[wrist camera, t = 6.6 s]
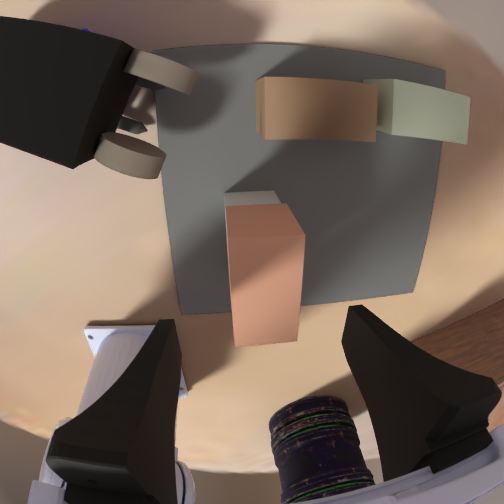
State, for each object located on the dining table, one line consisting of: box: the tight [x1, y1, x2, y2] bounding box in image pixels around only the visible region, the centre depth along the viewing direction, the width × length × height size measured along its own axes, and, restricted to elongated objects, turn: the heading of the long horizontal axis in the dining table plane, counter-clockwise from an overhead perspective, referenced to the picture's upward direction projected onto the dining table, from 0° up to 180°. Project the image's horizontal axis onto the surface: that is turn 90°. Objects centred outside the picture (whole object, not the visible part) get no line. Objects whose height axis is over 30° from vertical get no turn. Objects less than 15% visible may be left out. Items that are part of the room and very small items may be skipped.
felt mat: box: [154, 44, 445, 315], centre depth 21 cm, size 19×20×1 cm
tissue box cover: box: [411, 299, 504, 433], centre depth 31 cm, size 26×14×10 cm, turn 13°
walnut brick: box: [255, 77, 378, 142], centre depth 16 cm, size 6×3×4 cm, turn 91°
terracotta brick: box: [225, 203, 305, 347], centre depth 16 cm, size 6×3×4 cm, turn 1°
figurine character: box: [0, 16, 200, 179], centre depth 13 cm, size 7×8×15 cm
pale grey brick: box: [224, 190, 281, 282], centre depth 20 cm, size 6×3×4 cm, turn 1°
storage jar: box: [269, 396, 376, 504], centre depth 27 cm, size 10×10×15 cm
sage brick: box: [363, 79, 470, 145], centre depth 17 cm, size 6×3×4 cm, turn 91°
